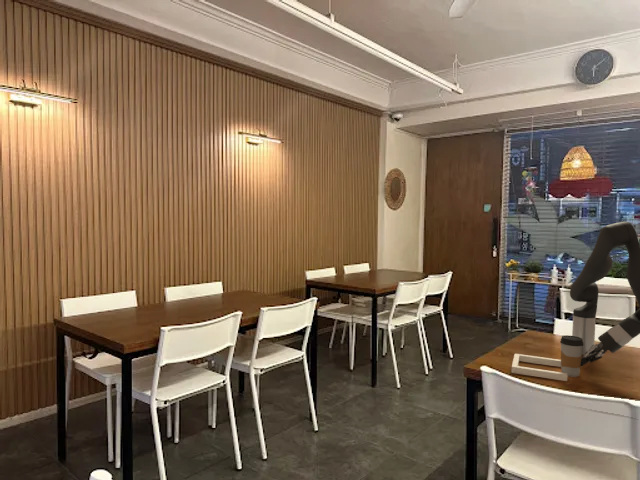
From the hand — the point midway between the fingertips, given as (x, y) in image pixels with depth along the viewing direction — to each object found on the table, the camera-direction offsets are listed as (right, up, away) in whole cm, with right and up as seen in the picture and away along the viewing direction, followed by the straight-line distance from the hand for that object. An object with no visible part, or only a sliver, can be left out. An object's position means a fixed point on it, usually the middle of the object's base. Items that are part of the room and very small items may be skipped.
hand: (578, 364), depth 185 cm
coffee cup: (-2, -4, +1) cm, 5 cm away
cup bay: (-13, -4, +7) cm, 16 cm away
